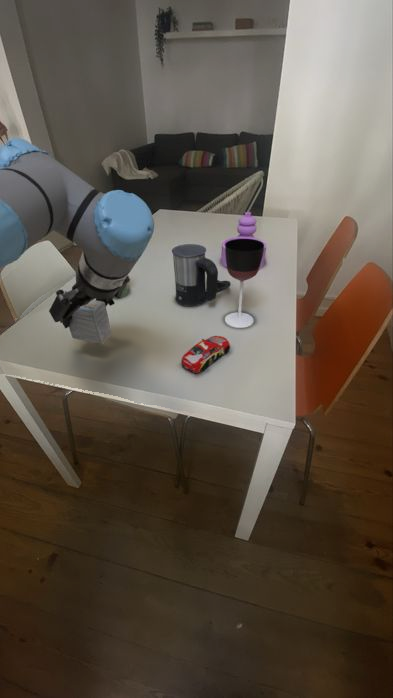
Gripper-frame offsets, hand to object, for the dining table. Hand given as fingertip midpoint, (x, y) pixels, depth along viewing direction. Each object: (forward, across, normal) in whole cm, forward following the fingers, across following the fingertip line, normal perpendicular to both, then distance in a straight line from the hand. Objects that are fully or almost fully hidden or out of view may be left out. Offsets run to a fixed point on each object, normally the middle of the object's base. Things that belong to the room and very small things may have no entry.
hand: (81, 315), depth 72 cm
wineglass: (-7, +34, -18) cm, 39 cm away
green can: (+18, +19, +7) cm, 27 cm away
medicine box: (+1, 0, -5) cm, 5 cm away
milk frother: (+5, +36, -7) cm, 37 cm away
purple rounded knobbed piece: (+13, +67, +1) cm, 69 cm away
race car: (-11, +17, -22) cm, 30 cm away
